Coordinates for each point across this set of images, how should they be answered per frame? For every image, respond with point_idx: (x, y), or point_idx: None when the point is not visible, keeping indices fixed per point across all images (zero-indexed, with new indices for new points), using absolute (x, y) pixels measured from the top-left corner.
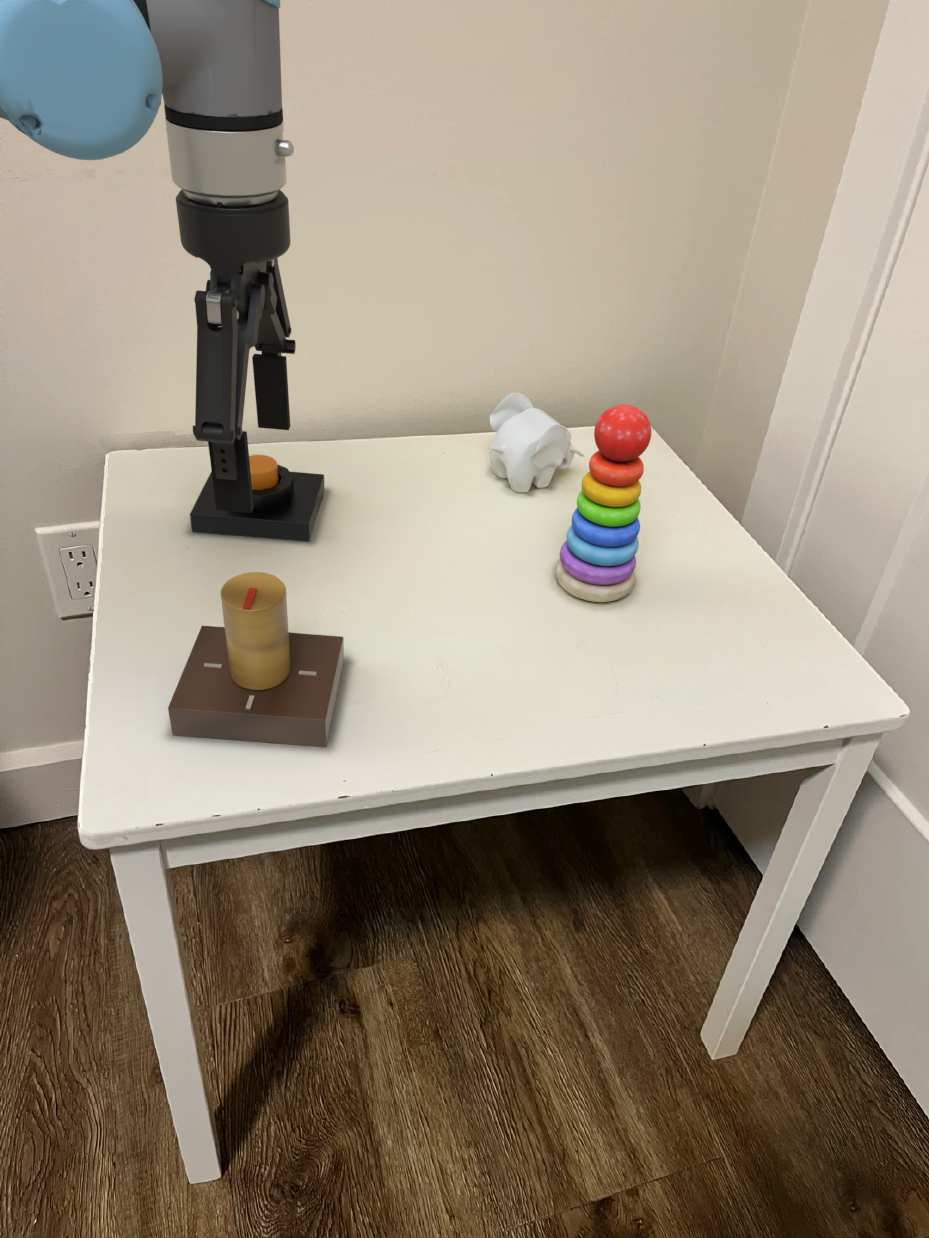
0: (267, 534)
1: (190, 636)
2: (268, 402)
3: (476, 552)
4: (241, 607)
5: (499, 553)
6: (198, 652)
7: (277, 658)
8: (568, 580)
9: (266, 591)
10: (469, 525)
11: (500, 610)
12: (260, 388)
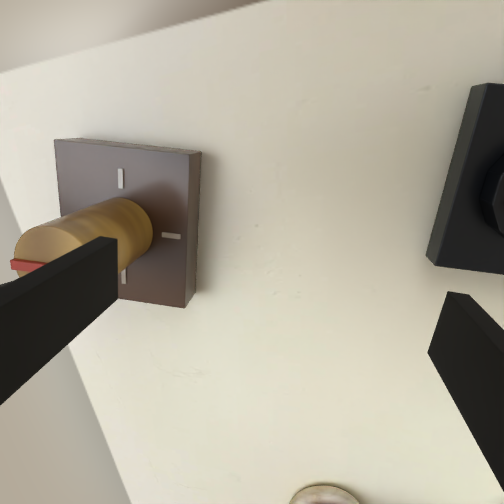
0: (442, 202)
1: (228, 128)
2: (466, 356)
3: (385, 427)
4: (17, 256)
5: (381, 447)
6: (141, 158)
7: None
8: (306, 500)
9: None
10: (443, 429)
11: (281, 430)
12: (491, 364)
